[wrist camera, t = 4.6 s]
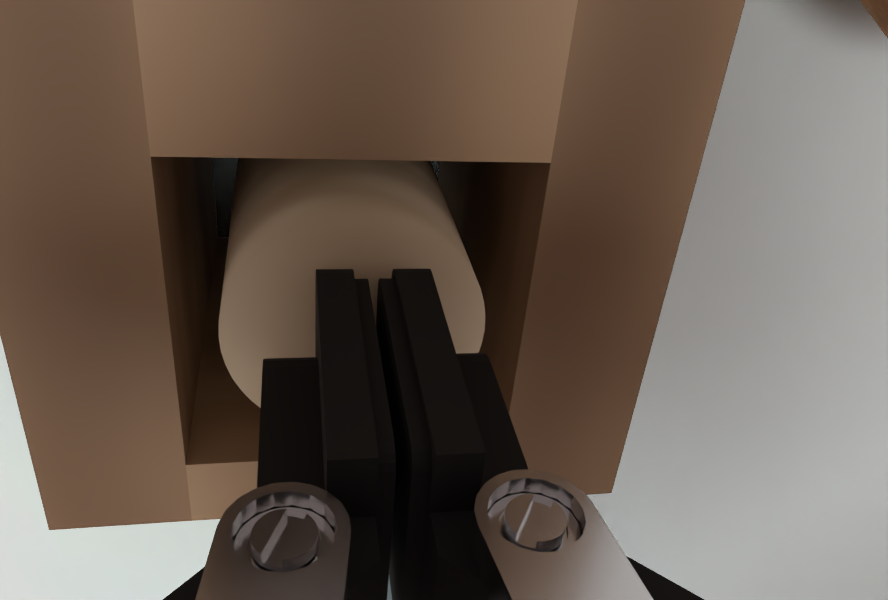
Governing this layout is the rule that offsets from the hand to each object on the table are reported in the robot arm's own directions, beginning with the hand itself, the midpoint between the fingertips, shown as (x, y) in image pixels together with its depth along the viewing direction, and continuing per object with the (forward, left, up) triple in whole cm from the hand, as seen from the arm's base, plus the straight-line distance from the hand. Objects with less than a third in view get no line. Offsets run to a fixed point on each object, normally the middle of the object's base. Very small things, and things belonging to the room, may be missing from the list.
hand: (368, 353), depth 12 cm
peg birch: (0, 0, -8) cm, 8 cm away
